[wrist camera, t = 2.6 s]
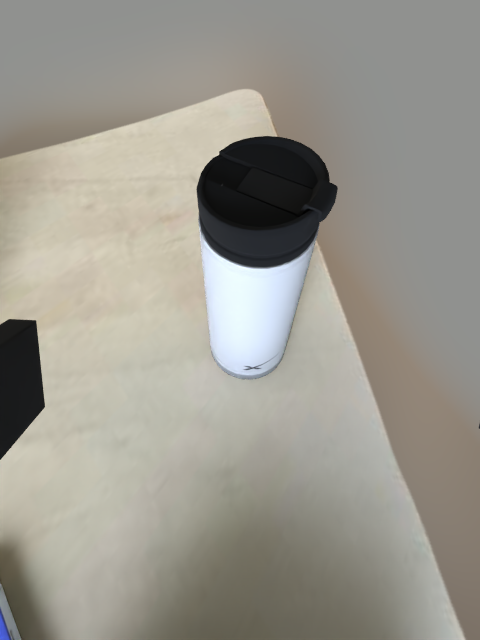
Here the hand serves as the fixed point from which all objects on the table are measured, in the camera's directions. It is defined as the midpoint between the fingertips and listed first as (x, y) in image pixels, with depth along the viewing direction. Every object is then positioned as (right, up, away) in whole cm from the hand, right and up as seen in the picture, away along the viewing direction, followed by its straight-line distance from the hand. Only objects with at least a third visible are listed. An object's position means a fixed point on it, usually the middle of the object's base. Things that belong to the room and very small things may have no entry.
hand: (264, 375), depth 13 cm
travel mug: (0, -1, +26) cm, 26 cm away
